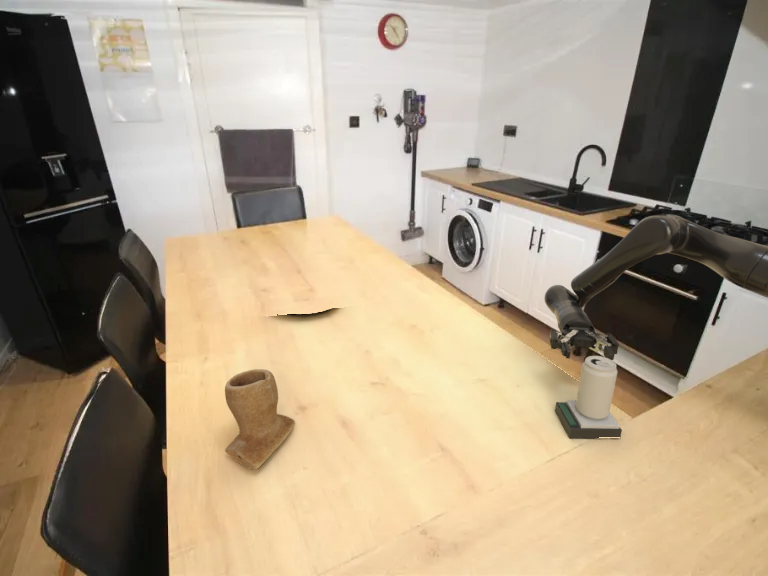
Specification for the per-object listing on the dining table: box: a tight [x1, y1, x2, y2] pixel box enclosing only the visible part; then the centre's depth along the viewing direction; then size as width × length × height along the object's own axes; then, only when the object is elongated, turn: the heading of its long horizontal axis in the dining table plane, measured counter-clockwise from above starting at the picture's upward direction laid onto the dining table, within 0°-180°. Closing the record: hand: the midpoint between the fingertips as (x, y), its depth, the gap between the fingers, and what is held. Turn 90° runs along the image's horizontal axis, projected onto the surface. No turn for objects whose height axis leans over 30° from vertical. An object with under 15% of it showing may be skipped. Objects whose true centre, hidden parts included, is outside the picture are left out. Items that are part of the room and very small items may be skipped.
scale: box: [554, 399, 623, 440], centre depth 87 cm, size 10×9×3 cm
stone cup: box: [224, 368, 296, 470], centre depth 82 cm, size 15×12×15 cm
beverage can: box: [575, 355, 619, 419], centre depth 84 cm, size 6×6×12 cm
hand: (589, 356), depth 90 cm, fingers open, 8 cm apart
